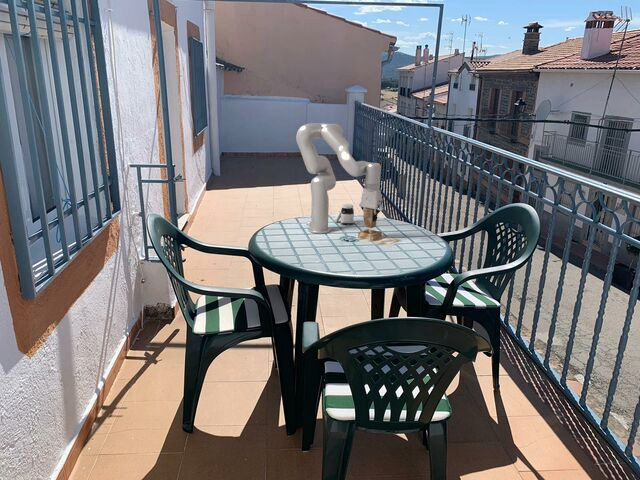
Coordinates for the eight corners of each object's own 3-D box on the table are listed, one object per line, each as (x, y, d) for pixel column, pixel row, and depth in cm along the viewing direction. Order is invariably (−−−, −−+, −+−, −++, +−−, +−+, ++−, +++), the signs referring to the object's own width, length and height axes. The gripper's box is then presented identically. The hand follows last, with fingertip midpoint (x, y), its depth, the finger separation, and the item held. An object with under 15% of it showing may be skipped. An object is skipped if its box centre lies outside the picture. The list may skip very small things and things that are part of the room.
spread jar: (354, 226, 299) (355, 206, 296) (335, 225, 299) (335, 206, 296) (352, 221, 311) (352, 202, 308) (333, 221, 310) (334, 202, 307)
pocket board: (353, 239, 270) (354, 232, 269) (368, 234, 281) (368, 227, 280) (389, 247, 257) (390, 240, 256) (403, 242, 268) (403, 235, 267)
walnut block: (363, 226, 270) (364, 208, 267) (368, 224, 274) (369, 206, 271) (371, 228, 267) (372, 209, 265) (376, 226, 271) (377, 208, 268)
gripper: (354, 185, 267) (352, 218, 272) (382, 189, 257) (380, 224, 262) (362, 183, 272) (360, 216, 278) (390, 188, 263) (387, 221, 268)
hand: (370, 219), depth 270 cm, fingers closed on walnut block, 5 cm apart
